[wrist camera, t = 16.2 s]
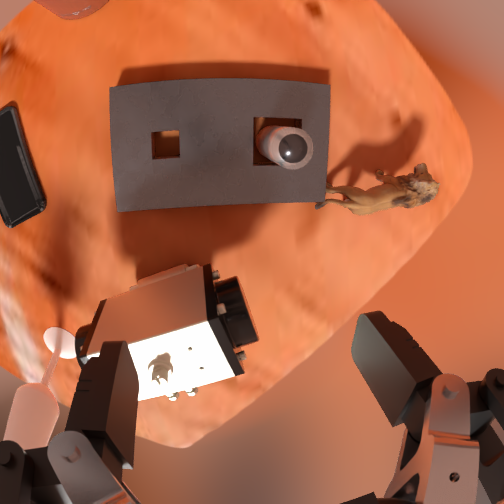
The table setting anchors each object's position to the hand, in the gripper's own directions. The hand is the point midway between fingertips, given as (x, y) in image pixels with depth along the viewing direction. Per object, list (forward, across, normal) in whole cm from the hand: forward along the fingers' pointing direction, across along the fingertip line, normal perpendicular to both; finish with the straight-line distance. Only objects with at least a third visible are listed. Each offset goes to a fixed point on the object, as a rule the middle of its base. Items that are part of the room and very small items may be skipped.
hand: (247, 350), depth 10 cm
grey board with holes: (+28, -2, -4) cm, 28 cm away
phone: (+28, +26, -5) cm, 39 cm away
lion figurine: (+28, -20, +1) cm, 35 cm away
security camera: (+28, +6, +13) cm, 32 cm away
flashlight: (+28, -8, -4) cm, 29 cm away
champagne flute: (+28, +26, +23) cm, 44 cm away
